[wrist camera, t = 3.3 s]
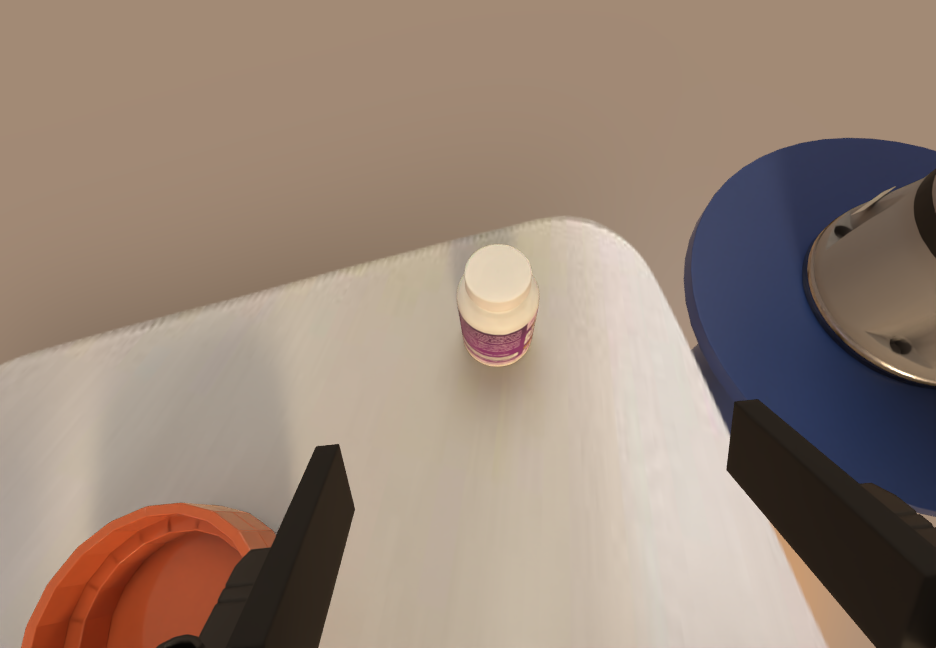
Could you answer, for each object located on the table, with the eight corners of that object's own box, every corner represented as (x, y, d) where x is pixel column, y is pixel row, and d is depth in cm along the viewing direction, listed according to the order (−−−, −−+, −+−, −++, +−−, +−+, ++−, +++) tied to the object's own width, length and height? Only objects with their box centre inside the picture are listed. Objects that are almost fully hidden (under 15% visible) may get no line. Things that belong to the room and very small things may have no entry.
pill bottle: (539, 361, 35) (555, 305, 26) (469, 374, 35) (461, 322, 26) (523, 298, 37) (532, 226, 28) (457, 310, 37) (445, 242, 28)
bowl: (306, 497, 32) (274, 492, 27) (295, 743, 27) (253, 788, 22) (116, 517, 32) (52, 515, 27) (67, 765, 27) (-21, 814, 22)
